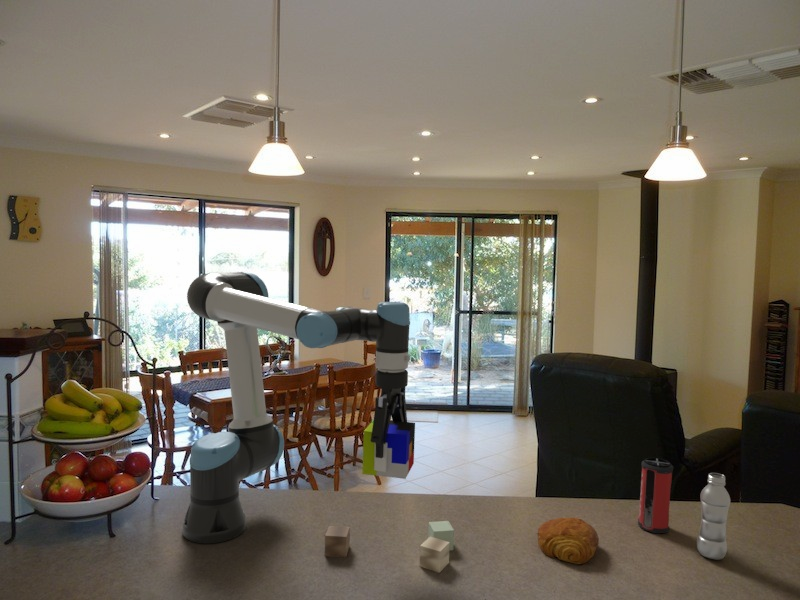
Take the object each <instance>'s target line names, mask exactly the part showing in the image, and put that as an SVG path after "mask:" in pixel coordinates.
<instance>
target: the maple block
mask: <svg viewBox="0 0 800 600" xmlns="http://www.w3.org/2000/svg"><path fill="white" fill-rule="evenodd" d="M449 545H450V542H447V541H444V540H440V539H437V538H433V537H429V538H428V537H427V539H426V540H424V541H423V542H422V544H420V545H419V567H420V568H422V569H423V568H424V569H426V570H429V571H433V572H436V573H439V574H440V573H441V572H442V571H443V569H445V568H446V567H447V566H448V565H449V563H450V561H449V560H450V550H449Z"/></svg>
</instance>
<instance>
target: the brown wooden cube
mask: <svg viewBox="0 0 800 600" xmlns="http://www.w3.org/2000/svg"><path fill="white" fill-rule="evenodd" d="M350 535H351V527H350V526H343V525H342V526H341V525H338V526H337V525H328V527H327V531H326V532H325V535H324V557H334V558H335V557H336V558H347V554H348V552H349V549H350V541H351V540H350V538H351V537H350Z"/></svg>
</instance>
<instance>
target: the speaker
mask: <svg viewBox="0 0 800 600" xmlns="http://www.w3.org/2000/svg"><path fill="white" fill-rule="evenodd" d="M674 469H675V468H674V466H673V465H672V463H671V462H670V461H668V460H667V459H663V458H657V457H647V458H645V459H644V460H642V461H641V479H640V496H639V508H638V509H639V513H638V519H637V525H638V526H639V527H640V528H641V529H642V530H644V531H648V532H650V533H652V534H665V533H668V532H669V531H670V526H669V524H670V523H669V522H670V502H671V500H670V499H671V490H672V489H671V488H672V486H671V485H672V479H673V472H674V471H673V470H674Z"/></svg>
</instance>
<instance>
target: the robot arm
mask: <svg viewBox="0 0 800 600" xmlns="http://www.w3.org/2000/svg"><path fill="white" fill-rule="evenodd" d="M186 299H187V304H188V306H189V308H190V309H191V311H192V312H193V313H194V314H196V315H197V316H198V317H200V318H203V319H207V320H211V321H214V322H217V326H219V327H220V328H221V329H222V330H224V338H225V346H226V347H225V348H226V357H227V366H228V376H229V377H228V378H229V385H230V395H231V404H232V413H233V414H232V415H233V418H232V420H231V422H229V423H230V424H229V425H228V431H218V432H216V433H214V432H212V433H211V432H210V433H207V434H205V435H203V436H201V437H199V438H198V439H196V440H195V441H194V442H193V443H192V445H191V448H190V456H189V457H190V458H189V467H190V468H189V472H190V473H189V475H190V478H189V480H190V481H189V482H190V485H189V487H190V488H189V489H190V490H189V491H190V493H189V494H190V501H189V505H188V508H187V511H186V512H185V513H186V514H185V516H184V520H183V522H182V535H183V537H184V538H185V539H186V540H187V541H189V542H193V543H196V544H197V543H198V544H218V543H222V542H223V543H224V542H226V541H229V540H233V539H234V538H236V537H239V536H240V535H242V533H243V532H244V531H245V530H246V527H247V517H246V515H245V512H244V509H243V508H244V507H243V506H242V502H241V499H240V481H242V480H244V479H247V478H249V477H251V476H253V475H256V474H258V473H260V472H264V471H265V470H268V469H270V467H272V466H275V465H277V463H278V462H279V461H280V459H281V458H282V457H283V454H284V450H285V449H284V448H285V439H284V435H283V433H282V431H280V428H279V427H278V426H277V425H275V424H274V419H273V418H272V417H271V416H270V415H269V414H268V413H267V407H266V397H265V390H264V389H265V388H264V387H265V386H264V380H263V379H264V378H263V371H262V369H263V368H262V362H261V352H260V342H259V333H258V329H259V330H262V331H267V332H271V333H274V334H276V335H277V334H278V335H281V336H284V337H288V338H292V339H295V340H299V342H300V343H302V345H303V346H304V347H306V348H309V349H324V348H326V347H330V346H334V345H340V344H343V343H350V342H353V341H364V342H372V343H373V342H374V343H375V345H376V346H375V348H376V349H375V365H374V366H375V367H376V370H375V378H374V379H375V380H374V384H375V386H376V387H378V388H380V389H381V393H380V396H376V397H375V399H374V400H375V401H374V403H375V405H374V407H375V408H374V413H373V414H374V416H373V420H374V421H373V420H372V421H373V428H372V435H371V442H374V443H375V459H374V470H376V471H382V472H386V471H387V442H386V438H387V433H388V428H389V424H390V420H391V419H392V420H391V421H400V422H408V417H407V416H408V415H407V405H406V403H407V402H406V387H407V386H408V381H409V372H408V370H407V369H408V368H409V361H410V360H411V356H410V355H409V343H410V342H409V341H410V339H409V337H410V325H411V319H410V307H409V305H408V303H405V302H401V301H380V302H379V303H378V304H377V307H376V309H369V308H359V307H353V306H344V307H342V306H340V307H337V308H335V310H329V311H327V310H326V311H325V310H320V309H317V308H316V309H315V308H311V307H309V306H304V305H300V304H297V303H292V302H289V301H288V302H287V301H283V300H280V299H276V298H270V297H269V291H268V288H267V286H266V284H265V282H264V280H263V279H261V278H260V277H259V276H258V275H257V274H254V273H251V272H244V271H237V272H236V271H234V272H209V273H205V274H200V275H199V276H198V277H196V278H195V279H193V281H192V282H191V283H190V285H189V287H188V289H187V293H186Z"/></svg>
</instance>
